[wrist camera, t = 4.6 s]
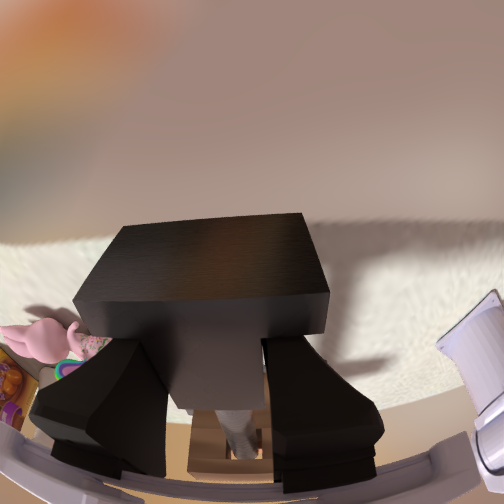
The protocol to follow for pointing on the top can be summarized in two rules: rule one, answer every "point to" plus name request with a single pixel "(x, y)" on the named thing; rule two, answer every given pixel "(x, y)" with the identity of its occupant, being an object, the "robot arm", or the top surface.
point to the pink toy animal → (53, 344)
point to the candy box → (14, 392)
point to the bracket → (228, 448)
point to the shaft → (209, 306)
